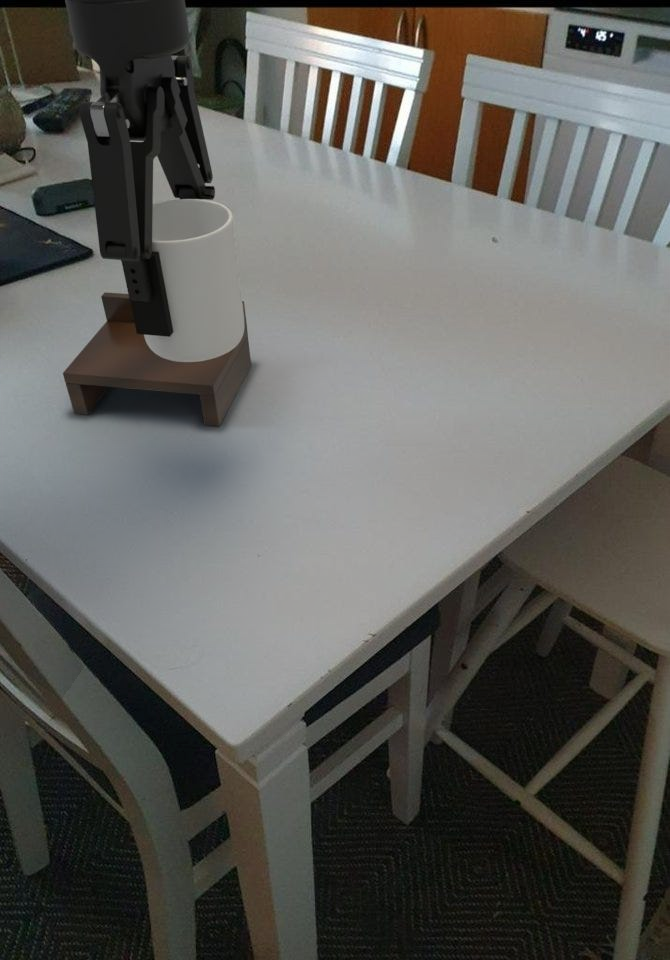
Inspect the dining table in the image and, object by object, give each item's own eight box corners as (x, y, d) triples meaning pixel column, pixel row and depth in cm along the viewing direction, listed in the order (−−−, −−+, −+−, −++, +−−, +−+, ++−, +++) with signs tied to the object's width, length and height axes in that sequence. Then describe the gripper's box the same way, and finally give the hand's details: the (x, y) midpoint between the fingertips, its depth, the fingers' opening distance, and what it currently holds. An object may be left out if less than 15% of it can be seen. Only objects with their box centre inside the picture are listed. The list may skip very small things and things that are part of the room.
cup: (175, 376, 63) (153, 252, 56) (109, 318, 70) (82, 203, 64) (265, 341, 66) (253, 221, 60) (193, 289, 74) (175, 178, 67)
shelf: (74, 413, 85) (54, 347, 80) (119, 355, 94) (104, 292, 89) (219, 427, 82) (208, 359, 77) (251, 365, 91) (244, 301, 86)
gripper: (103, 15, 43) (172, 379, 57) (231, -43, 59) (260, 251, 73) (-24, 14, 44) (74, 369, 58) (136, -42, 60) (182, 246, 75)
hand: (177, 303), depth 66 cm, fingers closed on cup, 9 cm apart
